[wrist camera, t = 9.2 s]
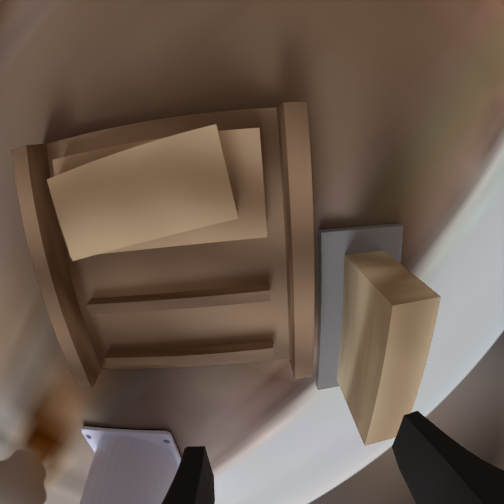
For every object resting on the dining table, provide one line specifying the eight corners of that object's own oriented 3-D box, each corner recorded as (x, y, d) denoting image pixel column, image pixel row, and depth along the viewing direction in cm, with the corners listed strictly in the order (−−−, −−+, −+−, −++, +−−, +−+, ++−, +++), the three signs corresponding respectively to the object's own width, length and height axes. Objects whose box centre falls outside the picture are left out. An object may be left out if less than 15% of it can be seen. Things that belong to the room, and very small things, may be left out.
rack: (302, 346, 20) (312, 376, 17) (93, 359, 19) (78, 387, 16) (293, 108, 15) (306, 101, 12) (41, 147, 15) (11, 150, 12)
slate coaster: (381, 371, 21) (384, 376, 21) (315, 384, 21) (317, 389, 20) (398, 223, 18) (403, 225, 17) (318, 229, 17) (321, 232, 17)
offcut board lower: (264, 230, 16) (267, 237, 15) (79, 249, 16) (69, 257, 15) (257, 128, 15) (259, 127, 13) (63, 158, 14) (52, 160, 13)
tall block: (383, 250, 17) (440, 296, 12) (369, 373, 20) (403, 434, 15) (344, 254, 17) (392, 305, 12) (337, 379, 20) (364, 445, 15)
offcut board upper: (237, 212, 15) (238, 218, 14) (82, 252, 15) (72, 261, 14) (217, 125, 13) (216, 124, 12) (58, 176, 13) (46, 179, 12)
